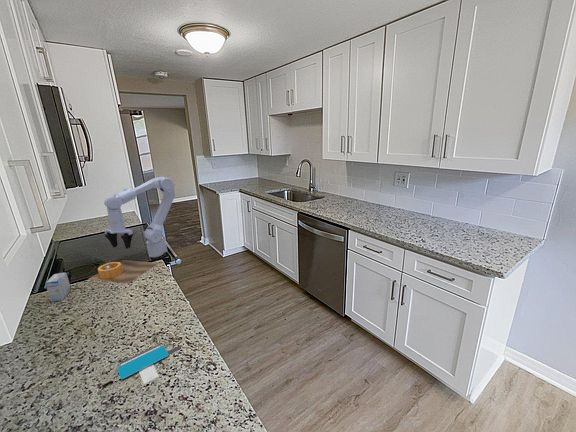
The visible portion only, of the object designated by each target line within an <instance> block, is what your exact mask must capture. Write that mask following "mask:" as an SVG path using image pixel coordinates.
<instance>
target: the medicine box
mask: <svg viewBox="0 0 576 432" xmlns="http://www.w3.org/2000/svg"><path fill="white" fill-rule="evenodd" d="M70 283H71V282H70V280H69V276H68V273H67V272H59V273H54V274H53V275H52V276H50V278H49V279H47V281H46V282H45V287H46V290H47V293H48V297H49V300H50V302H57V301H63V300H65V298H66V297H67V296H68V295H69V293H70V292H71V291H72V288H71V284H70Z"/></svg>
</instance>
